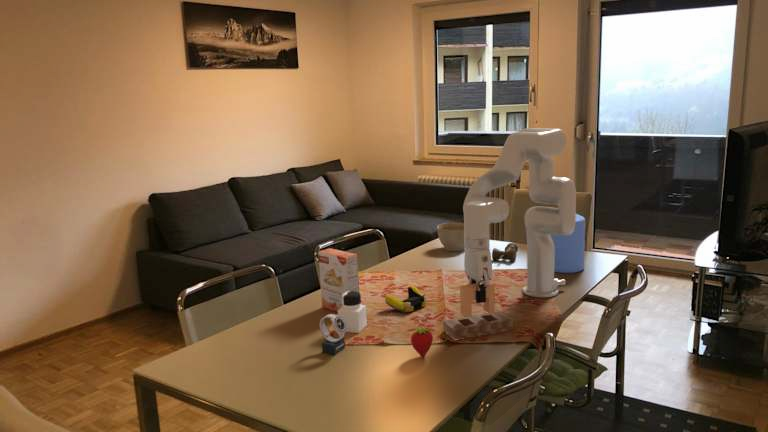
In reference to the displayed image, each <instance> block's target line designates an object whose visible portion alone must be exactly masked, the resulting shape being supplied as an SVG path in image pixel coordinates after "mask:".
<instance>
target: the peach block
mask: <svg viewBox="0 0 768 432" xmlns="http://www.w3.org/2000/svg"><path fill="white" fill-rule="evenodd" d="M489 282H490V285H489V286H487V290H486V302H483V311H485V312H486V313H493V312H496V301H495V299H496V297H495V296H496V295H495V293H496V291H495V290H496V289H495V288H496V287H495V283H493V282H492V281H491V280H489ZM481 284H483V282H482V283H480V285H481ZM476 290H477V284H476V283H474V284H469V283H467V284H463V285H459V299H460V300H459V303H460V314H461V315H462V316H463V317H470V316H473V315H472V313H473V310H472V306H473V305H472V301H476Z"/></svg>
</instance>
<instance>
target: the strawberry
mask: <svg viewBox="0 0 768 432" xmlns="http://www.w3.org/2000/svg"><path fill="white" fill-rule="evenodd" d="M418 324H419V325H421V323H420V322H419V323H418ZM427 328H428V326H426V327H422V328H419V327H417V328H416V327H413V329H414V330H416V331H415V332H413V334H412V335H411V337H410V341H411V342H410V343H411V346H412V348H413V349H414V350H415V351H416V352H417V353H418V355H419V356H420V357H422V358H424V357H426V355H427V353H428V352H429V350H430V348H431V346H432V344H433V334H432V331H431V330H430V329H427Z"/></svg>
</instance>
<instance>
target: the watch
mask: <svg viewBox="0 0 768 432" xmlns="http://www.w3.org/2000/svg"><path fill="white" fill-rule="evenodd" d="M326 318H327V319H328V318H329V320H330V322H331V326H332V329H333V330H334V332H335V333H337V335H338V336H335V335H330V332H329V330H328V328H327V325H326V324H325V323H326V322H325V320H326ZM319 331H320V333H321V335H322V337H323V338H324V339H326V340H324V341H323V342H321V350H322V351H321V352H322V354H327V355H331V356H336V355H337V354H339V353H340V352H341V351H343V350H344V349H346V346H345V345H346V344H345V343H346V342H345V338H344V337H345V335H346V333H347V332H346V323H345V321H344V319H343V318H342V317H340V316H338V314H335V313H328V314H327V315H325V316H324V317H322V318H321V319H320V321H319Z"/></svg>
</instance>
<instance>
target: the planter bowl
mask: <svg viewBox="0 0 768 432" xmlns="http://www.w3.org/2000/svg"><path fill="white" fill-rule="evenodd" d="M436 230H437V237H438V239H439V242H440V243H441V245H442V246H443V249H444V250H445V251H448V252H461V251H465V247H464V222H446V223H441V224H438V225H437V226H436Z"/></svg>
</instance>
